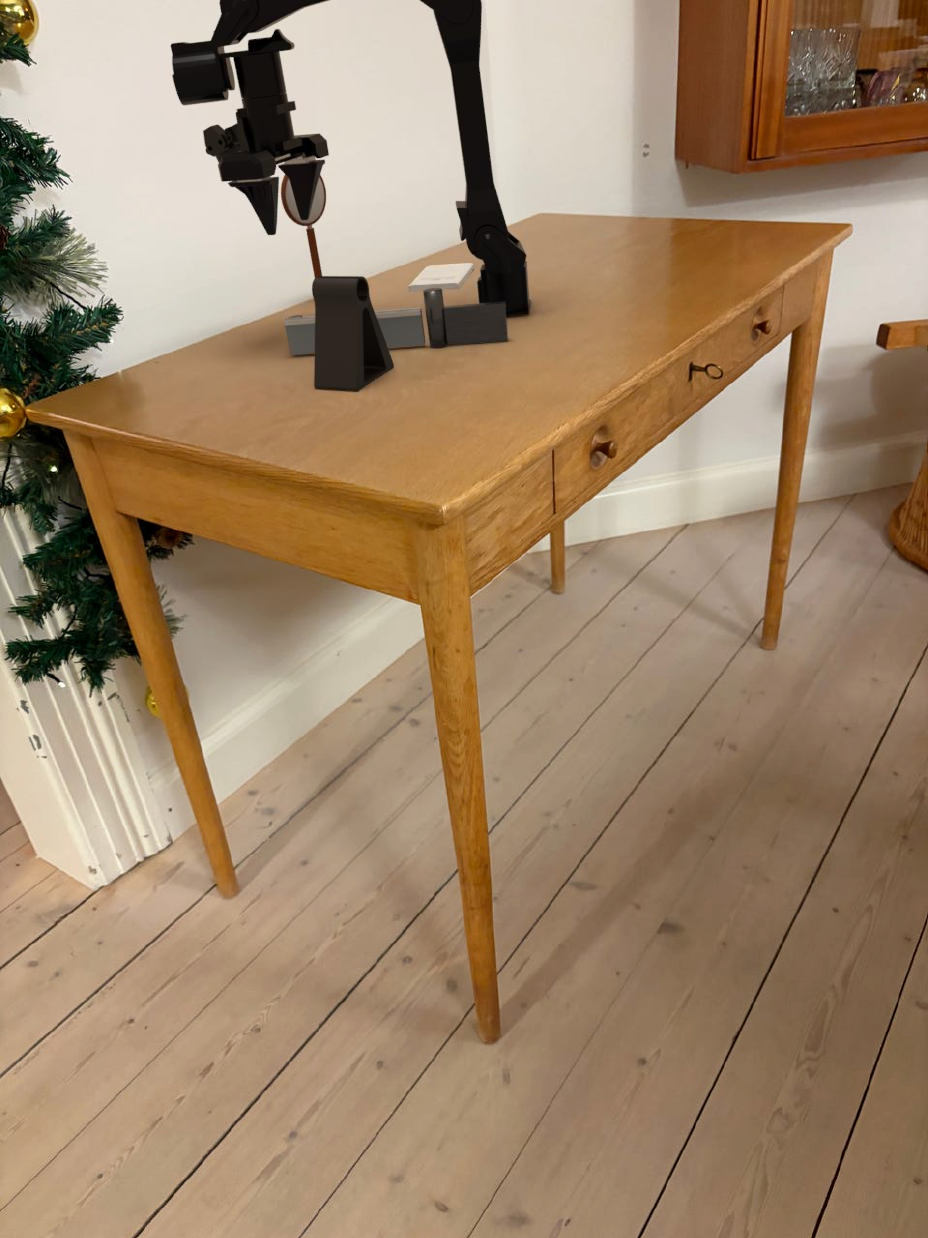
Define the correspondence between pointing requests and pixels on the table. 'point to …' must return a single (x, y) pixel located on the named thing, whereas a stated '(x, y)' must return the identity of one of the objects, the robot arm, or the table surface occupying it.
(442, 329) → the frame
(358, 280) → the phone stand
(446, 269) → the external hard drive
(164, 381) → the table surface
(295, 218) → the magnifying glass
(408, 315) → the grey flat bar
